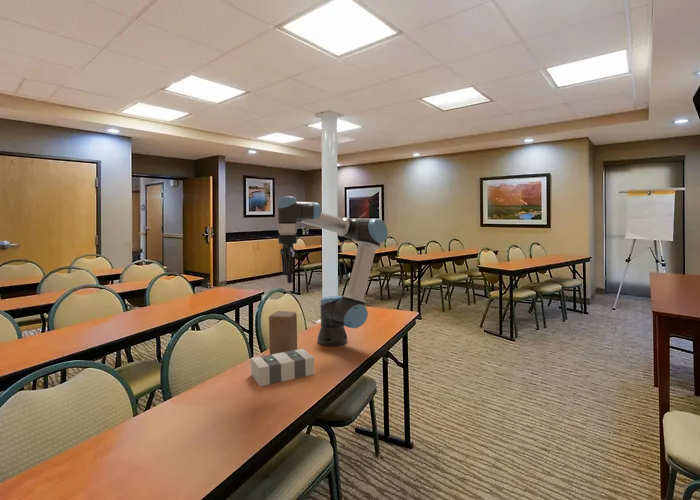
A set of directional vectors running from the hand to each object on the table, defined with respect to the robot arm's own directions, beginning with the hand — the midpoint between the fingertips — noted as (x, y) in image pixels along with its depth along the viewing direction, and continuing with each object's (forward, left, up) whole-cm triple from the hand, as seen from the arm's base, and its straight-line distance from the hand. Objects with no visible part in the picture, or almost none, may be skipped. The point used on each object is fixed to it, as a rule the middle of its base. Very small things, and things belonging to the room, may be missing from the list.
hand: (288, 290), depth 161 cm
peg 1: (+11, +8, -32) cm, 35 cm away
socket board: (+6, +8, -32) cm, 34 cm away
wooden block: (-1, -11, -33) cm, 34 cm away
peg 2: (+1, +8, -32) cm, 33 cm away
